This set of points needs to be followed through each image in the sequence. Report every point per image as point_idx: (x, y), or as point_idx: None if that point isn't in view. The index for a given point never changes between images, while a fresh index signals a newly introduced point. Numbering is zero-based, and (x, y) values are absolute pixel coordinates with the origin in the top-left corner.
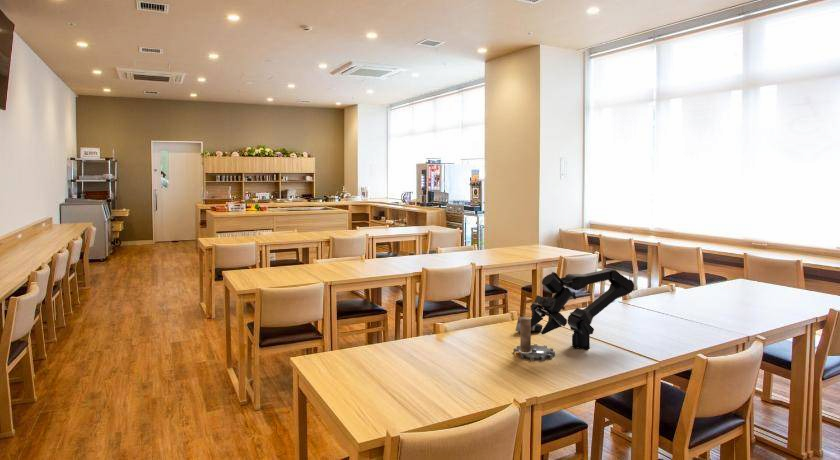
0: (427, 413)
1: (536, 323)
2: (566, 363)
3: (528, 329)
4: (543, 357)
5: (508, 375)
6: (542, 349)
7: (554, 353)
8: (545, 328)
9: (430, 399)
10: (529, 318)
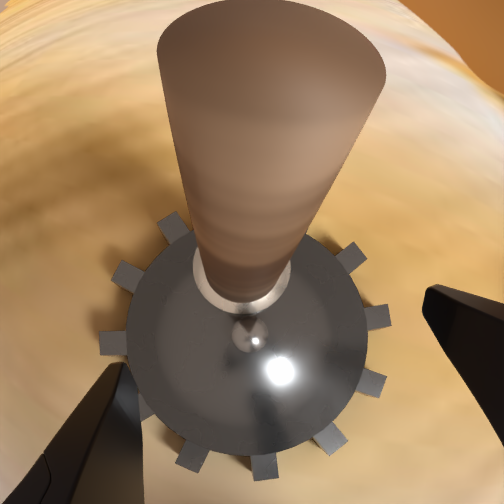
0: (5, 24)
1: (478, 396)
2: None
3: (181, 177)
4: (100, 345)
5: (28, 130)
6: (259, 404)
7: (177, 459)
8: (65, 426)
9: (38, 14)
10: (295, 100)
